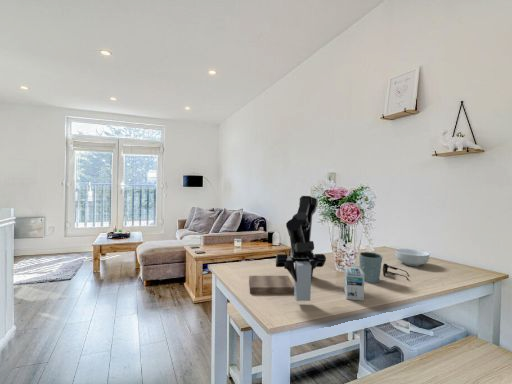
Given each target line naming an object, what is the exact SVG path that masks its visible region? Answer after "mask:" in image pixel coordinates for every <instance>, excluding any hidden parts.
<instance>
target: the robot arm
mask: <svg viewBox="0 0 512 384" xmlns="http://www.w3.org/2000/svg"><path fill="white" fill-rule="evenodd" d="M318 203H319V202H318V198H316V197H313V196H312V195H301V196H300V197H299V204H298V205H299V206H298V210H297V212H296V213H295V214H293V216H292V218H291V219H289V220H287V222H286V223H285V225H286V229H287V230H286V231H287V233H288V237H289V243H290V249H291V254H292V255H291V256H288V254H287V253H277V254H276V256H275V267H276V268H284V270H287V271H288V272H289V274H290V275H291V277H292V279H293V281H294V283H295V282H297V277H296V272H295V261H308V262H309V263H310V264H311V266H312V268H311V282H312V281H313V280H312V279H313V278H314V277H313V275H314V270H316V269H317V268H322V267H324V265H325V264H326V262H327V257H326V255H325V254H324V253H314V252H313V251H314V249H315V244H314V241H313V240H311V237H312V236H311V235H312V223H313V215H314V214H315V213H316V212H317V208H318V207H319V205H318Z"/></svg>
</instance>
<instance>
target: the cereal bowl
mask: <svg viewBox="0 0 512 384" xmlns="http://www.w3.org/2000/svg"><path fill="white" fill-rule="evenodd" d="M394 254H395V258H396V260H398V261H399V262H401V263H403V264H404V265H407V266H411V267H420V266H421V265H425V264H427V263H428V262H429V260H430V253H429V252H427V251H424V250H423V251H422V250H419V249H413V248H398V249H397V248H396V249H395V250H394Z"/></svg>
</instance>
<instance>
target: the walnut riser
mask: <svg viewBox="0 0 512 384" xmlns="http://www.w3.org/2000/svg"><path fill="white" fill-rule="evenodd" d="M291 280H292V279H291V278H290V276H289V275H249V276H248V284H249V285H248V286H249V294H294V284H293V283H292V281H291Z"/></svg>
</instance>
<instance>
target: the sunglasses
mask: <svg viewBox="0 0 512 384" xmlns="http://www.w3.org/2000/svg"><path fill="white" fill-rule="evenodd" d="M388 269H392V270H394V271H396V270H399V271H402V272H405V273H406V275H407V276H406V275H403V274H398V273H395V272H393V271H389V270H388ZM386 274H389V275H393V276H400V277H405V278H406V280H408V281H409V277H410V275H409V273H408V272H407V271H406V270H405V269H401V268H398V267H395V266H391V265H388V264H387V263H383V265H382V276H383V277H386Z"/></svg>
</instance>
